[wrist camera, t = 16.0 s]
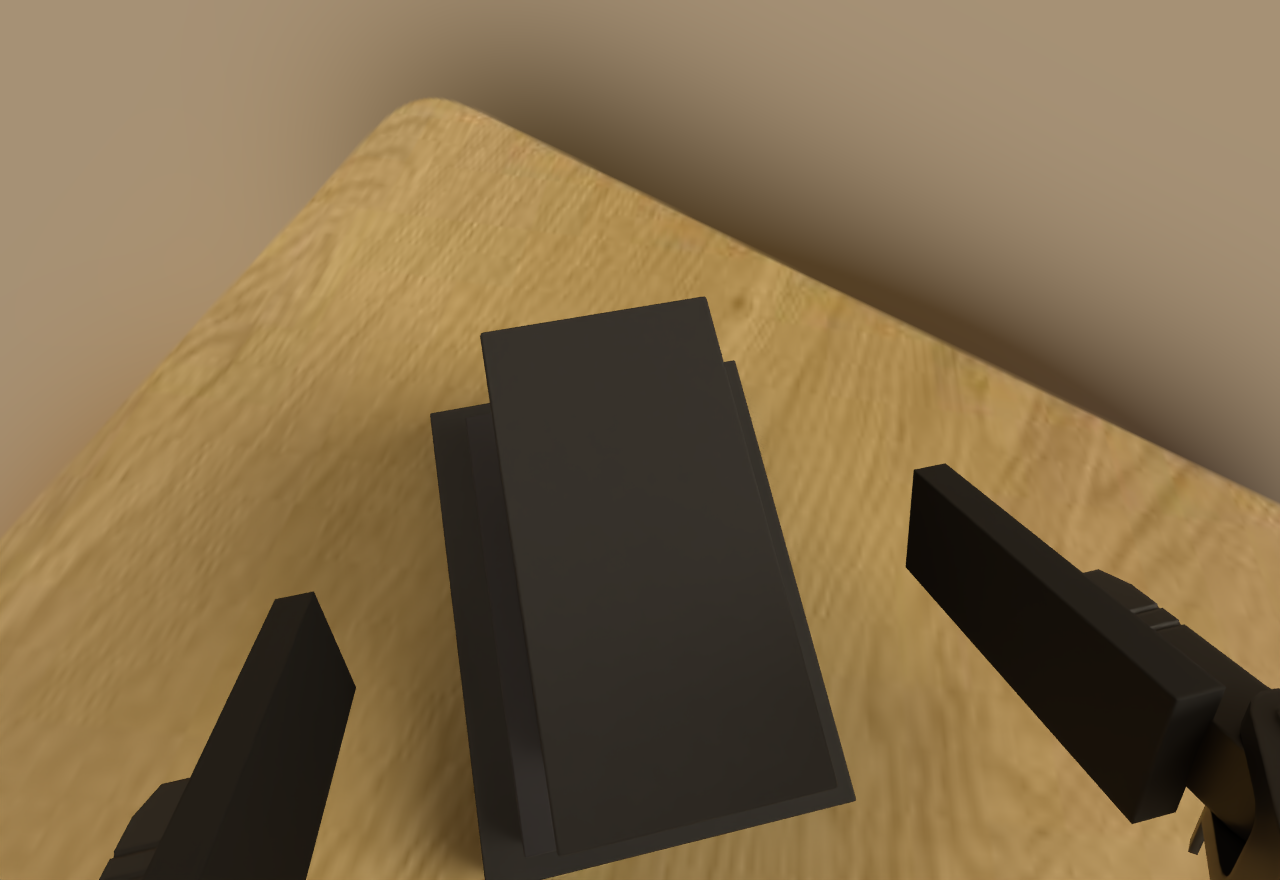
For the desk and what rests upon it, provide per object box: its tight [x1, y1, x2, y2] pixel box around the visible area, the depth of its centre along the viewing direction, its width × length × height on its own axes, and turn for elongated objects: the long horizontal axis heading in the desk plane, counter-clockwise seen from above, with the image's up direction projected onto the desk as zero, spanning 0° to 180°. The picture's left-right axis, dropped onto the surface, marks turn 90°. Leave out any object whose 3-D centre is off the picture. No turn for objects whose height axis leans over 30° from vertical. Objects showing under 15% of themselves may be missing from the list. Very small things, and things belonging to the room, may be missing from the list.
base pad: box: [430, 360, 856, 880], centre depth 24 cm, size 12×16×4 cm
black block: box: [480, 297, 838, 856], centre depth 18 cm, size 5×10×11 cm, turn 12°
